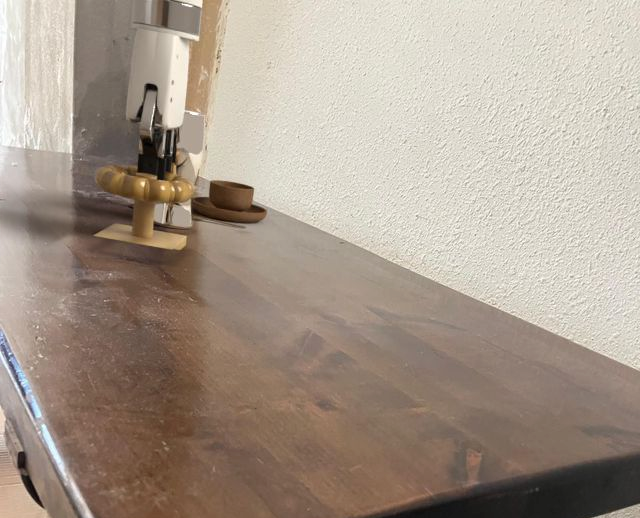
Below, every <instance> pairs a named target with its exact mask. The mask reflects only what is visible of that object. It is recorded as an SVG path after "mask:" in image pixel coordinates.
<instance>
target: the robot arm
mask: <svg viewBox="0 0 640 518" xmlns="http://www.w3.org/2000/svg"><path fill="white" fill-rule="evenodd" d="M203 3H204V0H132V9H131V12H132V13H131V14H132V15H131V27H130V28H131V29H133V30H136V32H135V37H134V41H133V47H132V55H131V60H130V62H131V63H130V71H129V79H128V87H127V88H128V90H127V97H126V98H127V99H126V110H125V119H126V121H127V122H128V124H129V125H139V132H138V133H139V141H138V142H139V143H138V155H137V165H138V167H137V173H146V174H151V175H155V176H157V180H163V181H165V171H166V172H170V173H171V168H172V152H173V140H174V129H176V128H178V127H180V126H181V125H182V123H183V118H184V111H185V109H186V102H187V89H188V80H189V79H188V76H189V61H190V44H191V43H190V42H194V43H195V42H196V43H199V42H200V35H201V25H202V14H203ZM155 124H159V125H155ZM160 125H162V126H160ZM167 155H169V156H167Z"/></svg>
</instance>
